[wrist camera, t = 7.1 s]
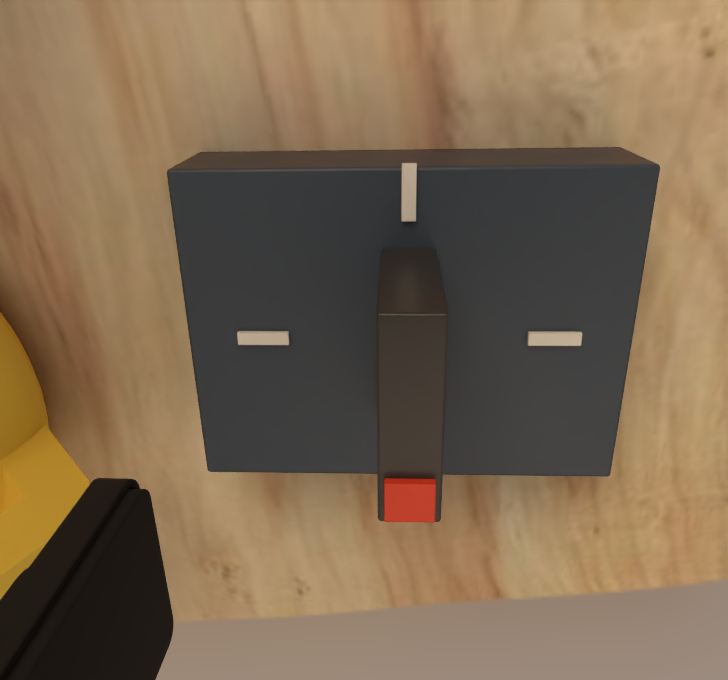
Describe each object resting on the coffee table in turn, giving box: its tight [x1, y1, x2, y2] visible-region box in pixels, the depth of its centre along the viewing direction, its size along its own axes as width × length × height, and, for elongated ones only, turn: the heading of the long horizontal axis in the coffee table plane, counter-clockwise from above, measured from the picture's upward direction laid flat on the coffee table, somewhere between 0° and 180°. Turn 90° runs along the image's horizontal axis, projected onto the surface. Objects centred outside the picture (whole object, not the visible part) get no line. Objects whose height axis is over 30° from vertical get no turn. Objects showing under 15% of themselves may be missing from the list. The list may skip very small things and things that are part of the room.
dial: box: [376, 249, 449, 522], centre depth 16 cm, size 5×1×5 cm, turn 1°
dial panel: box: [167, 147, 660, 476], centre depth 19 cm, size 12×9×3 cm
